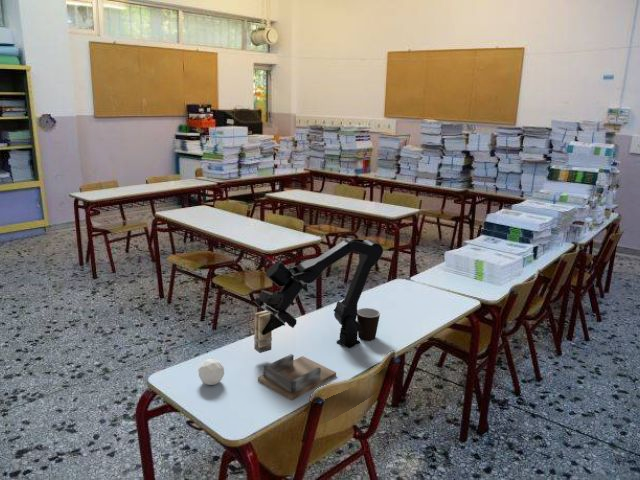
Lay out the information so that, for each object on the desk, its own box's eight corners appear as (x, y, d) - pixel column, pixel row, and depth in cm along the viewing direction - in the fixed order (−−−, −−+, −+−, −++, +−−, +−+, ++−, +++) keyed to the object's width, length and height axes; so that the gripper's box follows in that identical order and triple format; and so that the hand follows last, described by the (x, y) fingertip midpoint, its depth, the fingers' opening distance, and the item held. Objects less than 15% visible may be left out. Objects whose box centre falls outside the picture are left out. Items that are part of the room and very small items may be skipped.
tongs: (266, 345, 174) (266, 310, 171) (271, 349, 172) (272, 313, 168) (254, 349, 172) (254, 313, 168) (259, 353, 169) (259, 316, 166)
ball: (210, 394, 156) (200, 383, 150) (200, 375, 161) (190, 364, 155) (231, 379, 158) (222, 368, 152) (221, 361, 163) (211, 349, 157)
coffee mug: (377, 343, 188) (378, 318, 185) (353, 340, 189) (355, 315, 187) (379, 330, 199) (381, 306, 196) (357, 327, 200) (359, 304, 198)
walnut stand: (302, 359, 174) (303, 346, 173) (336, 375, 164) (336, 362, 163) (257, 380, 160) (258, 367, 159) (291, 400, 150) (292, 385, 149)
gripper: (258, 273, 175) (230, 310, 171) (289, 290, 161) (259, 330, 157) (277, 290, 182) (250, 326, 178) (309, 308, 168) (280, 347, 164)
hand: (259, 332), depth 169 cm, fingers closed on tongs, 3 cm apart
